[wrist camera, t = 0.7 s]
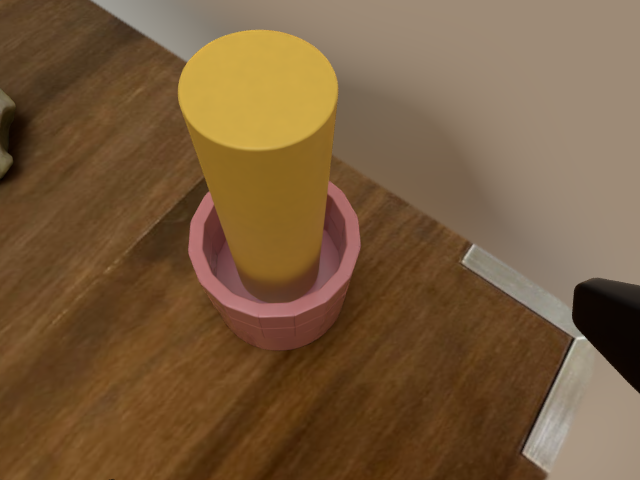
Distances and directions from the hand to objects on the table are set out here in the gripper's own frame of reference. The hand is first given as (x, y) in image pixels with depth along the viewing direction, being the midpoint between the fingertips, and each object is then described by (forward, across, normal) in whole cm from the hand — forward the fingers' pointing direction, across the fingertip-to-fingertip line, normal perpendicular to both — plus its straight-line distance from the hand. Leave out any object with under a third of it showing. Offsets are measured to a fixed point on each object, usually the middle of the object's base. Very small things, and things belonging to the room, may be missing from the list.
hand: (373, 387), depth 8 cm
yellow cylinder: (+14, 0, +5) cm, 14 cm away
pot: (+15, 0, +7) cm, 17 cm away
